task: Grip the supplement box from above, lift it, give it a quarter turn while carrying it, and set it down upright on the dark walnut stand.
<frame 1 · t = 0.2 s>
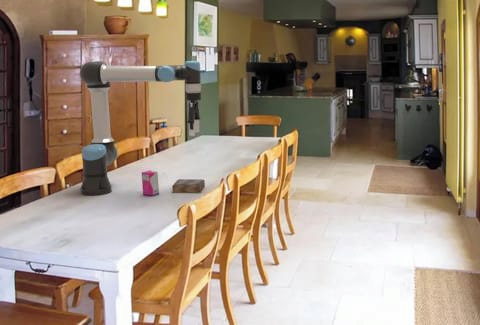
hand: (194, 134, 294), 28 cm above the table, tool pointing down, fingers open, 13 cm apart
supplement box: (150, 194, 284), on the table
walnut stand: (188, 189, 293), on the table
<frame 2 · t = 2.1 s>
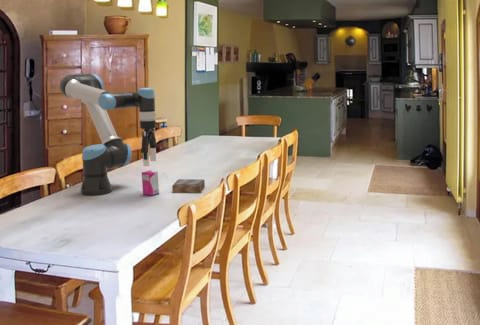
hand: (149, 163, 281), 15 cm above the table, tool pointing down, fingers open, 13 cm apart
nothing on the table moved.
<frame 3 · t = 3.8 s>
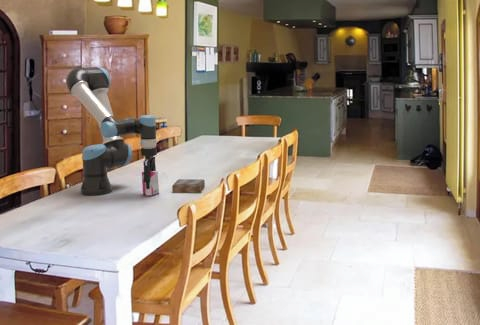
hand: (150, 193, 284), 1 cm above the table, tool pointing down, fingers closed on supplement box, 8 cm apart
supplement box: (150, 194, 284), on the table, touching gripper
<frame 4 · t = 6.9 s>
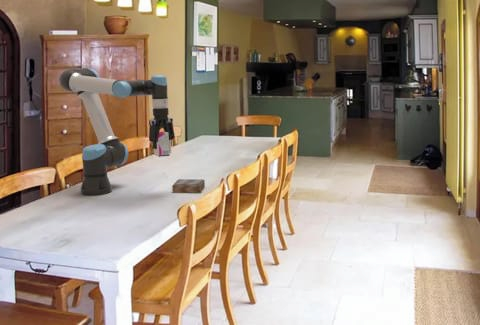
hand: (162, 154, 283), 20 cm above the table, tool pointing down, fingers closed on supplement box, 8 cm apart
supplement box: (163, 155, 283), point 19 cm above the table, touching gripper
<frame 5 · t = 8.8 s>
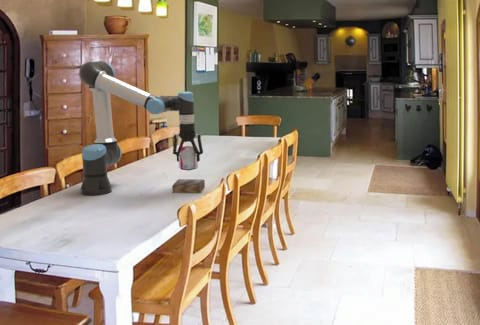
hand: (188, 167, 291), 11 cm above the table, tool pointing down, fingers closed on supplement box, 8 cm apart
supplement box: (188, 169, 291), point 10 cm above the table, touching gripper
when the fingers open (6 cm above the table, at t = 10.2 s): supplement box drops 1 cm, resting on walnut stand.
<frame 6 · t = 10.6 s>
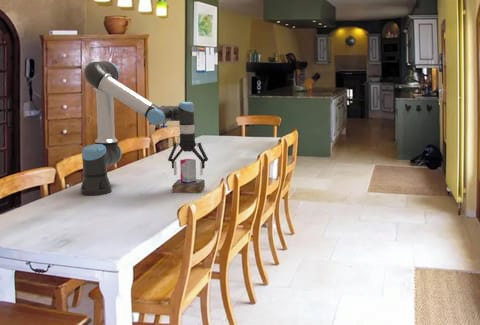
hand: (188, 174, 292), 8 cm above the table, tool pointing down, fingers open, 13 cm apart
supplement box: (188, 182, 292), point 4 cm above the table, touching walnut stand
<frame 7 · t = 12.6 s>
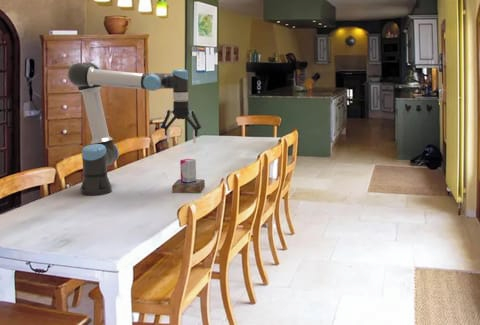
hand: (181, 142, 293), 24 cm above the table, tool pointing down, fingers open, 13 cm apart
nothing on the table moved.
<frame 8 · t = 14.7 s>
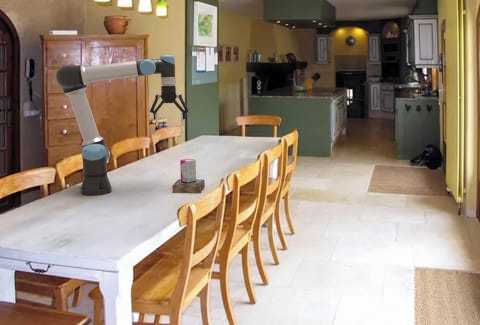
hand: (169, 125, 303), 31 cm above the table, tool pointing down, fingers open, 13 cm apart
nothing on the table moved.
at the end: supplement box inside the target area on the walnut stand (0.1 cm from its centre), point 3.8 cm above the walnut stand's base; supplement box tilted 0°; the gripper is holding nothing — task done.
